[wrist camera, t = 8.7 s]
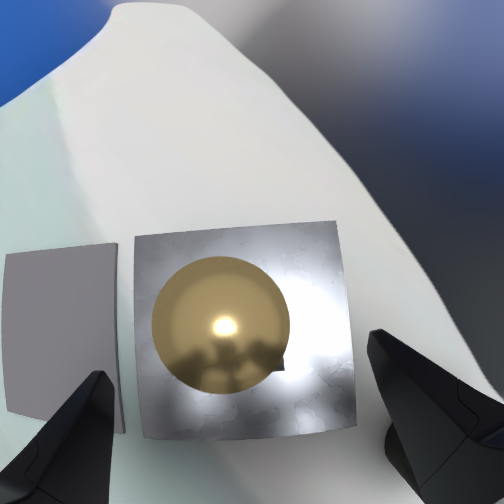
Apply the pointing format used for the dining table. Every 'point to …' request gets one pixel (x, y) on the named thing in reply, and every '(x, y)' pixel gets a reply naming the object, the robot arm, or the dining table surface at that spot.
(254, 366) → the pin
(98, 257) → the mat
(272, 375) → the grey square hole block
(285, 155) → the dining table surface
